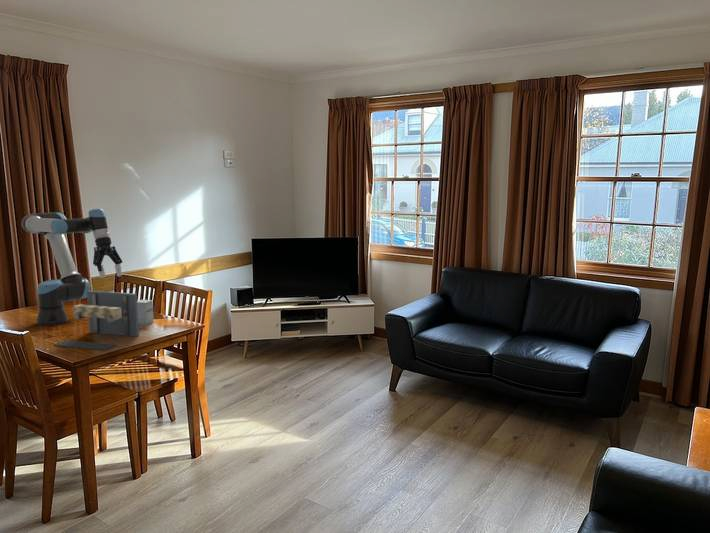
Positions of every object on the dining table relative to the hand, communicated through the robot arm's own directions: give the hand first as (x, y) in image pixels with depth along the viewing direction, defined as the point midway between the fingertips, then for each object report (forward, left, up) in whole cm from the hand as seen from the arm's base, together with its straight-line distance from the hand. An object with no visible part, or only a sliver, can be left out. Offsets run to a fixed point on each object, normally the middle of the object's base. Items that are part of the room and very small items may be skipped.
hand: (111, 276), depth 278 cm
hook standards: (+7, -17, -28) cm, 34 cm away
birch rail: (+7, -20, -16) cm, 27 cm away
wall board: (+7, -9, -28) cm, 30 cm away
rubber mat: (+7, -30, -28) cm, 42 cm away
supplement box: (+9, +14, -28) cm, 33 cm away
